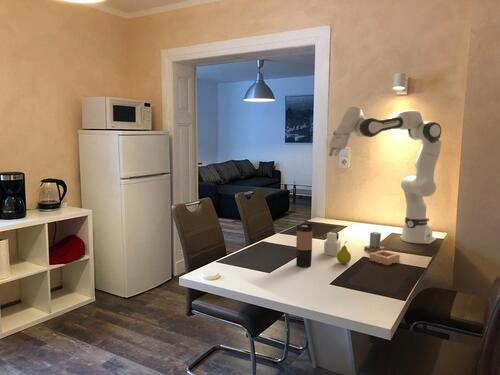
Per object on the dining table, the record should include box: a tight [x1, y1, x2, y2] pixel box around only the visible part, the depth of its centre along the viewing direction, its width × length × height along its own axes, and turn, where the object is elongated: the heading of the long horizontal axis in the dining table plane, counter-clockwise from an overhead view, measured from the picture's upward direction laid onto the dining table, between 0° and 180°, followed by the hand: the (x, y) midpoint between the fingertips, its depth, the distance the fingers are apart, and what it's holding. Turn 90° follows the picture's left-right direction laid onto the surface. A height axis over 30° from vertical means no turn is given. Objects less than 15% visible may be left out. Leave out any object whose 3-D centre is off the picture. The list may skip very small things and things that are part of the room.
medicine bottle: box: [323, 231, 342, 257], centre depth 216 cm, size 7×7×12 cm
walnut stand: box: [363, 244, 386, 253], centre depth 224 cm, size 8×8×2 cm
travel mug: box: [295, 223, 313, 268], centre depth 196 cm, size 8×8×20 cm
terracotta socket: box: [369, 250, 401, 266], centre depth 205 cm, size 10×10×4 cm
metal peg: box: [369, 231, 382, 248], centre depth 223 cm, size 4×4×8 cm
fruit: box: [336, 240, 352, 265], centre depth 200 cm, size 7×7×12 cm
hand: (332, 155), depth 228 cm, fingers open, 8 cm apart
